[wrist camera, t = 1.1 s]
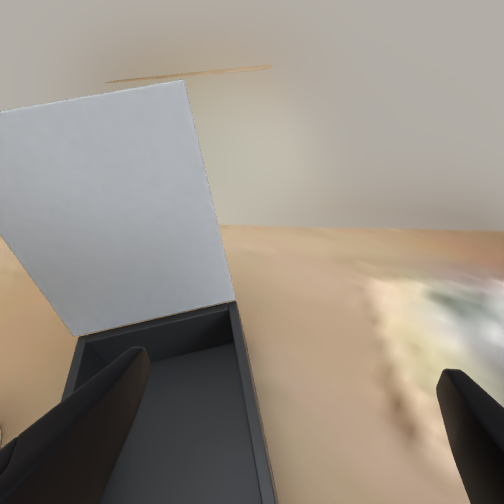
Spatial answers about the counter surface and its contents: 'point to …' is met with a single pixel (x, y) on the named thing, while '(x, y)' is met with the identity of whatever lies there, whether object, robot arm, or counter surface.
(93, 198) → the grey flat rectangular panel
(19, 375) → the counter surface
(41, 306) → the counter surface
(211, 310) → the dark grey open box
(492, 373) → the counter surface
